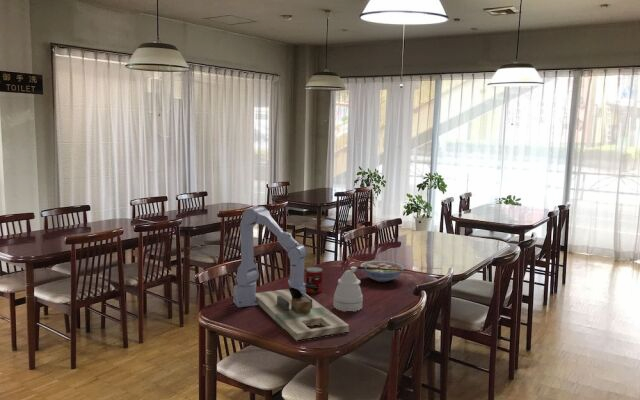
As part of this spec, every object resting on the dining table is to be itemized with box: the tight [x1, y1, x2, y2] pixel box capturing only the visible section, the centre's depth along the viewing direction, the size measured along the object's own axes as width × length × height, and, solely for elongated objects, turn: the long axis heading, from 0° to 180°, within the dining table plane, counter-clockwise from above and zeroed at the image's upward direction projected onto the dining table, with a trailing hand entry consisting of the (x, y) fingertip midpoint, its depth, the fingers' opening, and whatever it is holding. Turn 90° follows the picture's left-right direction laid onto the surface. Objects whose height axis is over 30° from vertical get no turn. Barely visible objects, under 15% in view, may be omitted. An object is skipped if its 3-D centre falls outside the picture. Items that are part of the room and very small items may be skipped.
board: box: [256, 288, 350, 342], centre depth 218 cm, size 22×50×6 cm, turn 26°
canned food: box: [305, 266, 323, 294], centre depth 249 cm, size 8×8×11 cm
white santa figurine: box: [333, 266, 364, 312], centre depth 229 cm, size 13×13×18 cm
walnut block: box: [291, 297, 311, 314], centre depth 215 cm, size 6×6×4 cm
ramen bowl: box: [357, 260, 408, 283], centre depth 271 cm, size 25×23×8 cm
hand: (296, 305), depth 219 cm, fingers closed
